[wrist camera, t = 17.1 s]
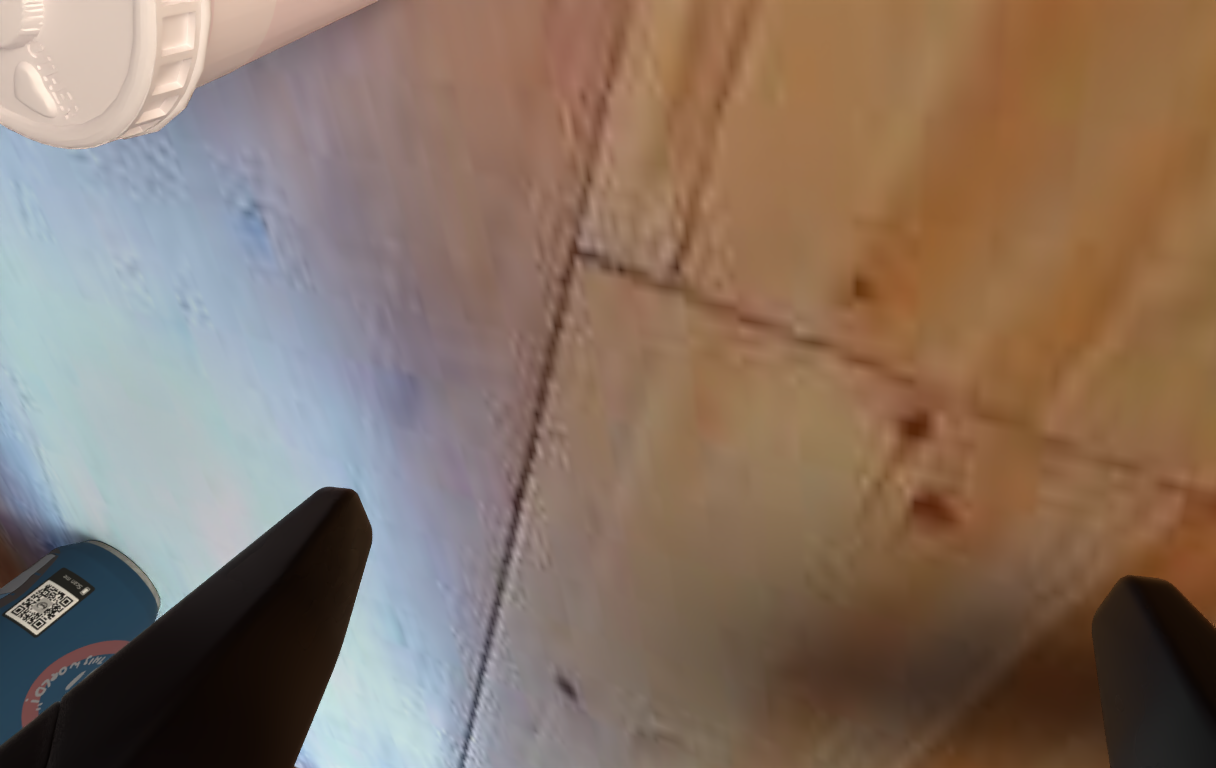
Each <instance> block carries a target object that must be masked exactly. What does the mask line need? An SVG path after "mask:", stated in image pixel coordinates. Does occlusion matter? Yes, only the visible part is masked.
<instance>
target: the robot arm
mask: <svg viewBox="0 0 1216 768" xmlns="http://www.w3.org/2000/svg"><path fill="white" fill-rule="evenodd" d="M371 544H372V528H371V524H370V522H369V520H368V517H367V515H366V512H365V510H364V508H363V505H362V503H361V500H360V498H359V496H358V494H357V493H356V492H355V491H354V490H352V489H346V488H337V487H324V488H321V489H319V490H318V491H316V492H315V493H314V494H312V495H311V496H310V497H309V498H307V499H306V500H305V501H304V502H303V503H301V504H300V505H299V506H298V507H296V508H295V509H294V510H293V511H291V512H290V513H289V514H288V515H286V516H285V517H284V518H283V519H281V520H280V521H279V522H278V523H277V524H275V525H274V526H273V527H272V528H270V529H269V530H268V531H267V532H265V533H264V534H263V535H262V536H260V537H259V538H258V539H257V540H256V541H254V542H253V543H252V544H251V545H249V546H248V547H247V548H246V549H244V550H243V551H242V552H241V553H239V554H238V555H237V556H236V557H234V558H233V559H232V560H231V561H230V562H228V563H227V564H226V565H225V566H223V567H222V568H221V569H220V570H218V571H217V572H216V573H215V574H213V575H212V576H211V577H210V578H208V579H207V580H206V581H205V582H204V583H202V584H201V585H200V586H199V587H197V588H196V589H195V590H194V591H192V592H191V593H190V594H189V595H187V596H186V597H185V598H184V599H182V600H181V601H180V602H179V603H178V604H176V605H175V606H174V607H173V608H171V609H170V610H169V611H168V612H166V613H165V614H164V615H163V616H161V617H160V618H159V619H158V620H156V621H155V622H154V623H153V624H152V625H150V626H149V627H148V628H147V629H145V630H144V631H143V632H142V633H140V634H139V635H138V636H137V637H135V638H134V639H133V640H132V641H130V642H129V643H128V644H127V645H126V646H124V647H123V648H122V649H121V650H119V651H118V652H117V653H116V654H114V655H113V656H112V657H111V658H109V659H108V660H107V661H106V662H104V663H103V664H102V665H101V666H100V667H98V668H97V669H96V670H95V671H93V672H92V673H91V674H90V675H88V676H87V677H86V678H85V679H83V680H82V681H81V682H80V683H78V684H77V685H76V686H75V687H74V688H72V689H71V690H70V691H69V692H67V693H66V694H65V695H64V696H63V697H62V699H61V702H55V703H53V704H52V705H51V706H50V707H48V708H47V709H46V710H45V711H43V712H42V713H41V714H40V715H39V716H37V717H36V718H35V719H34V720H32V721H31V722H30V723H29V724H27V725H26V726H25V727H24V728H22V729H21V730H20V731H19V732H17V733H16V734H15V735H13V736H12V737H11V738H10V739H8V740H7V741H6V742H4V743H3V744H2V745H1V746H0V768H293V767H294V765H295V762H296V760H297V757H298V755H299V753H300V750H301V748H302V745H303V743H304V740H305V738H306V735H307V733H308V731H309V728H310V726H311V723H312V721H313V718H314V716H315V713H316V711H317V709H318V706H319V704H320V701H321V699H322V696H323V694H324V692H325V689H326V687H327V684H328V682H329V679H330V677H331V674H332V672H333V669H334V667H335V664H336V662H337V659H338V656H339V654H340V650H341V647H342V644H343V641H344V638H345V635H346V631H347V628H348V624H349V621H350V617H351V614H352V610H353V607H354V603H355V600H356V596H357V593H358V589H359V586H360V582H361V579H362V576H363V572H364V569H365V565H366V562H367V558H368V555H369V551H370V548H371ZM1092 638H1093V645H1094V652H1095V660H1096V667H1097V675H1098V682H1099V690H1100V697H1101V705H1102V712H1103V720H1104V727H1105V735H1106V742H1107V749H1108V755H1109V761H1110V767H1111V768H1216V628H1215V627H1214V626H1213V625H1212V624H1211V623H1210V622H1209V621H1208V620H1207V619H1206V618H1205V617H1204V616H1203V615H1202V614H1201V613H1200V612H1199V611H1198V610H1197V609H1196V608H1195V607H1194V606H1193V605H1192V604H1191V603H1190V602H1189V601H1188V600H1187V599H1186V598H1185V596H1184V595H1183V594H1182V593H1181V592H1180V591H1179V590H1178V589H1177V588H1176V587H1175V586H1173V585H1172V584H1171V583H1169V582H1167V581H1165V580H1163V579H1159V578H1150V577H1141V576H1132V575H1127V576H1125V577H1122V578H1120V579H1119V581H1118V582H1117V583H1116V585H1115V586H1114V587H1113V589H1112V590H1111V591H1110V593H1109V594H1108V596H1107V597H1106V598H1105V600H1104V601H1103V603H1102V604H1101V605H1100V607H1099V608H1098V609H1097V611H1096V613H1095V615H1094V618H1093V622H1092Z"/></svg>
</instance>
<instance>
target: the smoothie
mask: <svg viewBox="0 0 1216 768" xmlns="http://www.w3.org/2000/svg"><path fill="white" fill-rule="evenodd" d="M377 1H379V0H0V124H2V125H3V126H5V127H6V128H8V129H10V130H12V131H14V132H16V133H18V134H20V135H22V136H24V137H26V138H29V139H31V140H34V141H37V142H39V143H42V144H46V145H50V146H53V147H58V148H65V149H87V148H93V147H97V146H100V145H103V144H106V143H109V142H112V141H115V140H118V139H129V138H133V137H137V136H141V135H145V134H149V133H153V132H157V131H160V130H161V129H162V128H163V127H164V126H165V125H166V124H168V123H169V122H170V121H171V120H172V119H173V118H175V117H176V116H177V115H178V114H179V113H180V112H182V111H183V110H184V109H185V108H186V107H187V105H188V102H189V100H190V98H191V96H192V94H193V92H194V90H195V89H196V88H198V87H200V86H202V85H204V84H207V83H209V82H211V81H213V80H216V79H218V78H220V77H222V76H224V75H227V74H229V73H231V72H233V71H234V70H236V69H238V68H240V67H241V66H244V65H246V64H248V63H250V62H252V61H254V60H256V59H258V58H260V57H262V56H264V55H266V54H269V53H271V52H273V51H275V50H277V49H279V48H281V47H283V46H285V45H287V44H289V43H291V42H293V41H296V40H298V39H300V38H302V37H304V36H306V35H308V34H310V33H312V32H314V31H316V30H318V29H321V28H323V27H325V26H327V25H329V24H331V23H333V22H335V21H337V20H339V19H341V18H343V17H346V16H348V15H350V14H352V13H354V12H356V11H358V10H360V9H362V8H364V7H366V6H368V5H370V4H373V3H375V2H377Z"/></svg>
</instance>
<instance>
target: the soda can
mask: <svg viewBox="0 0 1216 768" xmlns="http://www.w3.org/2000/svg"><path fill="white" fill-rule="evenodd" d="M159 607H160V599H159V596H158V593H157V591H156V589H155V587H154V586H153V584H152V583H151V581H150V580H149V579H148V577H147V576H146V575H145V574H144V573H143V572H142V571H141V570H140V569H139V568H138V567H137V566H136V565H135V564H134V563H133V562H132V561H131V560H130V559H128V558H127V557H126V556H125V555H123V554H122V553H120V552H119V551H117V550H116V549H114V548H112V547H110V546H108V545H106V544H104V543H101V542H98V541H85V542H80V543H75V544H70V545H65V546H61V547H58V548H56V549H54V550H52V551H51V552H50V553H48V554H47V555H46V556H44V557H43V558H42V559H40V560H39V561H37V562H36V563H35V564H33V565H32V566H31V567H29V568H28V569H27V570H25V571H24V572H23V573H21V574H20V575H19V576H17V577H16V578H15V579H13V580H12V581H11V582H9V583H8V584H7V585H5V586H4V587H3V588H1V589H0V746H1V745H2V744H3V743H4V742H6V741H7V740H8V739H10V738H11V737H12V736H13V735H15V734H16V733H17V732H19V731H20V730H21V729H22V728H24V727H25V726H26V725H27V724H29V723H30V722H31V721H32V720H34V719H35V718H36V717H37V716H39V715H40V714H41V713H42V712H43V711H45V710H46V709H47V708H48V707H50V706H51V705H52V704H53V703H55V702H61V699H62V697H63V696H64V695H65V694H66V693H67V692H69V691H70V690H71V689H72V688H74V687H75V686H76V685H77V684H78V683H80V682H81V681H82V680H83V679H85V678H86V677H87V676H88V675H90V674H91V673H92V672H93V671H95V670H96V669H97V668H98V667H100V666H101V665H102V664H103V663H104V662H106V661H107V660H108V659H109V658H111V657H112V656H113V655H114V654H116V653H117V652H118V651H119V650H121V649H122V648H123V647H124V646H126V645H127V644H128V643H129V642H130V641H132V640H133V639H134V638H135V637H137V636H138V635H139V634H140V633H142V632H143V631H144V630H145V629H147V628H148V627H149V626H150V625H152V624H153V623H154V622H155V619H156V616H157V613H158V610H159Z"/></svg>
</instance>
